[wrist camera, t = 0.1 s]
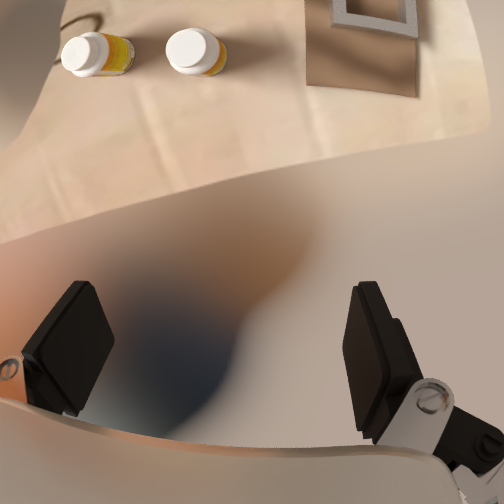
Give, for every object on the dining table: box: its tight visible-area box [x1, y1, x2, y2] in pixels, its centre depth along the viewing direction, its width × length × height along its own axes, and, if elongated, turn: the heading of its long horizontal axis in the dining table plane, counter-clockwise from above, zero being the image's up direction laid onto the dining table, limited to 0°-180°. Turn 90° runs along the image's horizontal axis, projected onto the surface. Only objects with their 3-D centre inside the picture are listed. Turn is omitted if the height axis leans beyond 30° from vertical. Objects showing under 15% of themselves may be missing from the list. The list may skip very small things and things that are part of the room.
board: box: [304, 0, 416, 97], centre depth 27 cm, size 22×14×1 cm, turn 1°
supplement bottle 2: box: [166, 28, 228, 77], centre depth 28 cm, size 5×5×10 cm
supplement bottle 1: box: [61, 32, 135, 77], centre depth 27 cm, size 6×6×10 cm
